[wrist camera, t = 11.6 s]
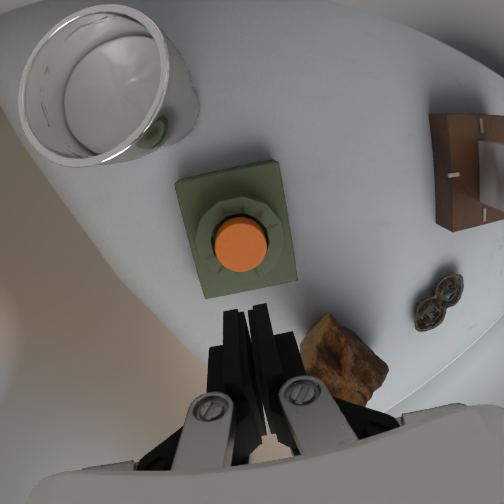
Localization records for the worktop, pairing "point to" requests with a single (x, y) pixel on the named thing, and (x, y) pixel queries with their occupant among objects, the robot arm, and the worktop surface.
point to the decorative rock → (342, 361)
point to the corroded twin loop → (438, 302)
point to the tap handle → (491, 173)
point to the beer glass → (105, 89)
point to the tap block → (462, 168)
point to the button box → (237, 205)
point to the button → (240, 244)
